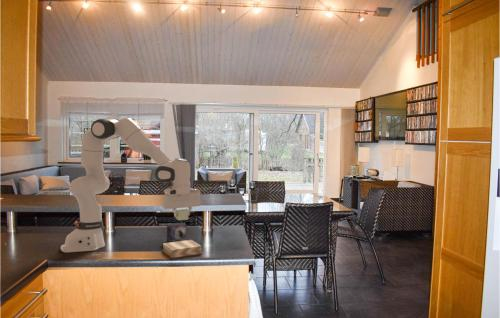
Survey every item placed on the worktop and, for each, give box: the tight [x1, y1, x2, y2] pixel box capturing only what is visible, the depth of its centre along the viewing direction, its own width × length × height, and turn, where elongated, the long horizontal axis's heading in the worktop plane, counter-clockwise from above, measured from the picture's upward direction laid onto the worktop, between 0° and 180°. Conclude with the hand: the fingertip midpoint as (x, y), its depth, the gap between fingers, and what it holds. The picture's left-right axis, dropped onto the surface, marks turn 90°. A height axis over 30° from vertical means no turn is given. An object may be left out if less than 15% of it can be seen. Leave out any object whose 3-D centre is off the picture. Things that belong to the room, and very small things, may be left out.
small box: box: [166, 222, 187, 243], centre depth 241 cm, size 11×6×10 cm, turn 105°
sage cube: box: [175, 207, 189, 221], centre depth 221 cm, size 5×5×5 cm
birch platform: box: [162, 239, 202, 259], centre depth 222 cm, size 16×14×4 cm
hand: (182, 216), depth 221 cm, fingers closed on sage cube, 5 cm apart
